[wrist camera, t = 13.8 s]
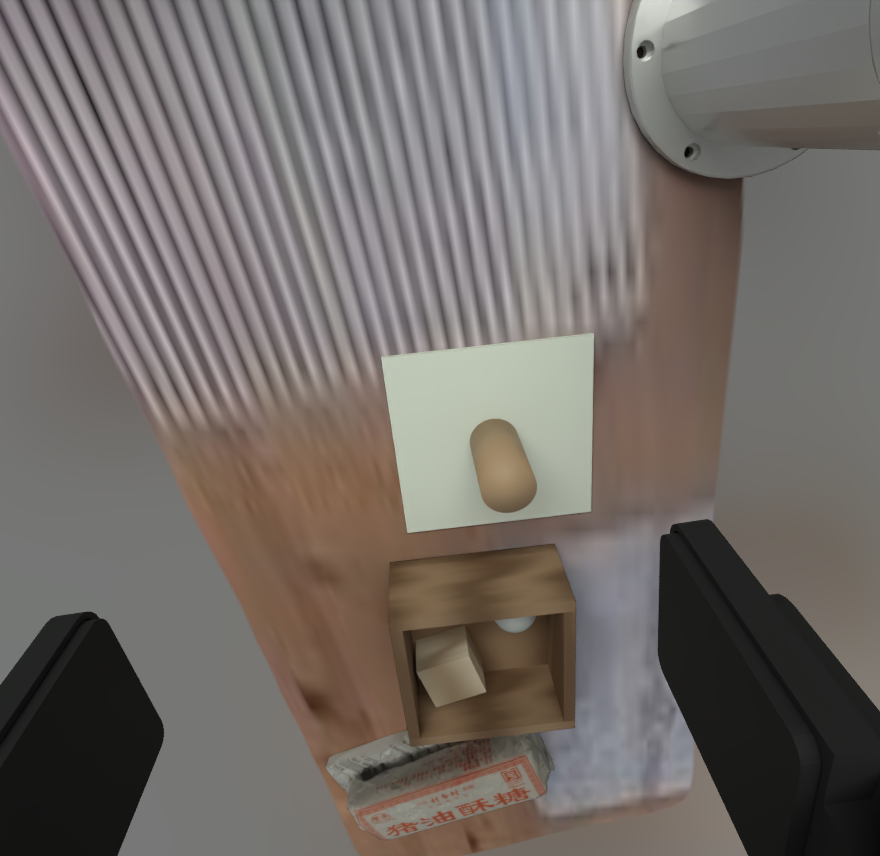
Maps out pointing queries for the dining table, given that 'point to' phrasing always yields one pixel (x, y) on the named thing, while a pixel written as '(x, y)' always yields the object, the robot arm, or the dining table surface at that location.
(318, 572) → the dining table surface
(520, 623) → the grey ball
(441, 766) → the packaged product
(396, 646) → the walnut box
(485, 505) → the lid
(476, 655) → the beech block
